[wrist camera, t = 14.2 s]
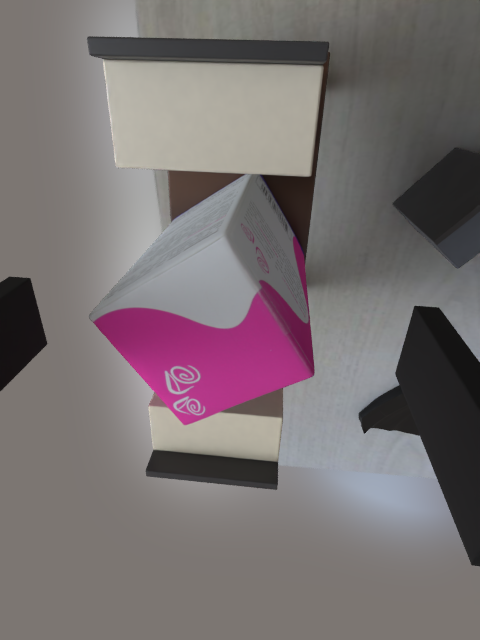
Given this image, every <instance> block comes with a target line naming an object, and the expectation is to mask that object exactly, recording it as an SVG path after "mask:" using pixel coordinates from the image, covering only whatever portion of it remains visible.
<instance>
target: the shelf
mask: <svg viewBox="0 0 480 640" xmlns="http://www.w3.org/2000/svg"><path fill="white" fill-rule="evenodd" d="M329 59H330V52H328V58H327V61H326V62H325V63H324V64H323V65H322V66H323V68H324V69H323V78H322V86H321V95H320V104H319V113H318V121H317V130H316V139H315V148H314V156H313V165H312V174H311V176H309V177H303V176H282V175H262V176H263V178H264V180H265V181H266V183H267V185H268V187H269V188H270V190H271V192H272V194H273V195H274V197H275V199H276V201H277V202H278V204H279V206H280V208H281V210H282V212H283V213H284V215H285V217H286V219H287V221H288V222H289V224H290V226H291V228H292V230H293V232H294V233H295V235H296V237H297V239H298V241H299V243H300V245H301V247H302V249H303V252H304V262H305V260H306V252H307V244H308V235H309V227H310V219H311V210H312V202H313V193H314V185H315V177H316V168H317V160H318V151H319V143H320V135H321V126H322V118H323V110H324V101H325V93H326V84H327V76H328V68H329ZM243 175H245V174H239V173H217V172H196V171H175V170H168V183H169V199H170V216H171V222H172V221H173V220H174V219H175V218H176V217H177V216H179V215H180V214H182V213H184V212H185V211H187V210H188V209H190V208H192V207H193V206H195V205H196V204H198V203H200V202H201V201H203V200H204V199H206V198H208V197H209V196H211V195H212V194H214V193H216V192H217V191H219V190H220V189H222V188H224V187H225V186H227V185H229V184H230V183H232V182H233V181H235V180H237V179H238V178H240V177H242V176H243Z"/></svg>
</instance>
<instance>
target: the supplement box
mask: <svg viewBox="0 0 480 640" xmlns="http://www.w3.org/2000/svg"><path fill="white" fill-rule="evenodd" d="M89 319H90V320H91V321H92V322H93V323H94V324H95V325H96V326H97V327H98V329H99V330H100V331H101V332H102V333H103V334H104V335H105V336H106V337H107V339H108V340H109V341H110V342H111V343H112V344H113V346H114V347H115V348H116V349H117V350H118V351H119V352H120V353H121V355H122V356H123V357H124V358H125V359H126V360H127V361H128V362H129V364H130V365H131V366H132V367H133V368H134V369H135V370H136V372H137V373H138V374H139V375H140V376H141V377H142V378H143V379H144V380H145V382H146V383H147V384H148V385H149V386H150V387H151V389H152V390H154V392H155V393H156V394H157V395H158V396H159V398H160V399H161V400H162V401H163V402H164V403H165V404H166V405H167V407H168V408H169V409H170V410H171V411H172V412H173V413H174V415H175V416H176V417H177V418H178V419H179V420H180V421H181V422H182V423H183V425H188V424H191V423H194V422H197V421H199V420H202V419H204V418H207V417H209V416H212V415H214V414H216V413H219V412H221V411H223V410H226V409H228V408H231V407H233V406H235V405H238V404H241V403H243V402H246V401H249V400H251V399H254V398H257V397H259V396H262V395H265V394H267V393H270V392H273V391H275V390H278V389H281V388H283V387H286V386H289V385H292V384H294V383H297V382H300V381H302V380H305V379H308V378H310V377H313V376H314V360H313V349H312V337H311V327H310V316H309V307H308V295H307V284H306V272H305V262H304V252H303V249H302V247H301V245H300V243H299V241H298V239H297V237H296V235H295V233H294V232H293V230H292V228H291V226H290V224H289V222H288V221H287V219H286V217H285V215H284V213H283V212H282V210H281V208H280V206H279V204H278V202H277V201H276V199H275V197H274V195H273V194H272V192H271V190H270V188H269V187H268V185H267V183H266V181H265V180H264V178H263V176H262V175H260V174H245V175H243V176H242V177H240V178H238V179H237V180H235V181H233V182H232V183H230V184H229V185H227V186H225V187H224V188H222V189H220V190H219V191H217V192H216V193H214V194H212V195H211V196H209V197H208V198H206V199H204V200H203V201H201V202H200V203H198V204H196V205H195V206H193V207H192V208H190V209H188V210H187V211H185V212H184V213H182V214H180V215H179V216H177V217H176V218H175V219H174V220H173V221H172V222H171V223H170V225H169V226H168V227H167V228H166V229H165V230H164V232H163V233H162V234H161V235H160V236H159V237H158V238H157V239H156V241H155V242H154V243H153V244H152V245H151V246H150V247H149V248H148V249H147V251H146V252H145V253H144V254H143V255H142V256H141V257H140V258H139V260H138V261H137V262H136V263H135V264H134V265H133V266H132V267H131V268H130V269H129V271H128V272H127V273H126V274H125V275H124V276H123V277H122V279H121V280H120V281H119V282H118V283H117V284H116V285H115V286H114V287H113V288H112V289H111V291H110V292H109V293H108V294H107V295H106V296H105V297H104V298H103V299H102V301H101V302H100V303H99V304H98V305H97V306H96V307H95V308H94V310H93V311H92V312H91V313H90V315H89Z"/></svg>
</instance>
